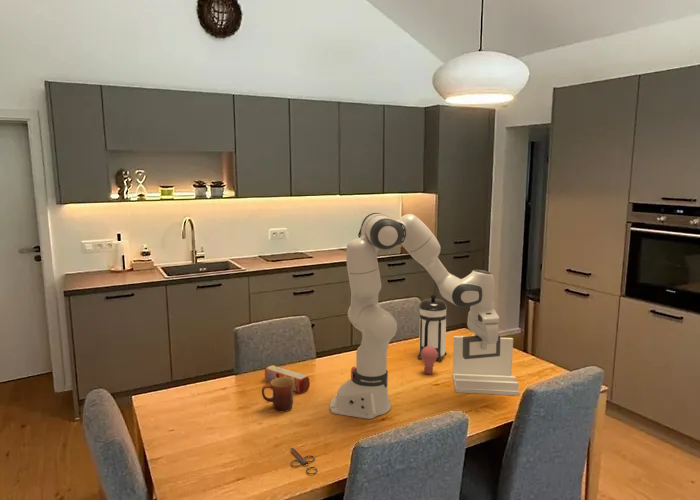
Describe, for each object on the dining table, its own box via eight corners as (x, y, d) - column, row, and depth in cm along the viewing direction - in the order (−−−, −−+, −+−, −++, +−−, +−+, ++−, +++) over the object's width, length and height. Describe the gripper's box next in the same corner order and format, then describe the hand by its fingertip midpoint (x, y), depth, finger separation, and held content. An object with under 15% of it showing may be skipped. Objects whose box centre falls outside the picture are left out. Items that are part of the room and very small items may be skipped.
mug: (292, 401, 195) (292, 376, 193) (296, 411, 187) (296, 385, 185) (261, 405, 192) (260, 379, 190) (263, 416, 184) (262, 389, 182)
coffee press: (408, 353, 244) (409, 292, 239) (439, 349, 248) (440, 289, 244) (424, 366, 227) (425, 301, 223) (456, 362, 232) (458, 298, 227)
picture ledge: (455, 392, 202) (456, 350, 199) (452, 375, 218) (453, 335, 215) (518, 395, 199) (520, 352, 196) (510, 377, 215) (512, 337, 213)
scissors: (299, 444, 166) (299, 439, 166) (326, 472, 151) (326, 466, 150) (277, 451, 162) (277, 446, 162) (302, 480, 147) (302, 475, 146)
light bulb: (436, 370, 224) (437, 343, 222) (437, 376, 217) (438, 349, 215) (420, 369, 224) (420, 343, 222) (420, 376, 217) (421, 349, 215)
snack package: (263, 382, 213) (262, 366, 212) (274, 376, 218) (274, 361, 217) (299, 395, 200) (299, 379, 199) (311, 390, 205) (310, 374, 204)
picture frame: (465, 359, 193) (465, 339, 192) (462, 356, 196) (462, 336, 194) (500, 356, 195) (500, 336, 194) (496, 353, 198) (497, 333, 197)
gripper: (463, 305, 202) (463, 338, 204) (485, 320, 182) (484, 357, 185) (478, 304, 203) (478, 337, 205) (501, 319, 183) (500, 356, 186)
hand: (481, 347), depth 195 cm, fingers closed on picture frame, 3 cm apart
